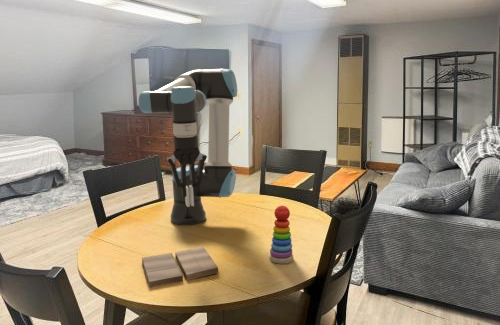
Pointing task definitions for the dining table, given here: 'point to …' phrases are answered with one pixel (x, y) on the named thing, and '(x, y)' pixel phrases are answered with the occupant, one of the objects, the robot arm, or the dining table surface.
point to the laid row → (161, 270)
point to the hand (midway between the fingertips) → (189, 205)
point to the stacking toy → (281, 237)
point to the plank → (196, 263)
